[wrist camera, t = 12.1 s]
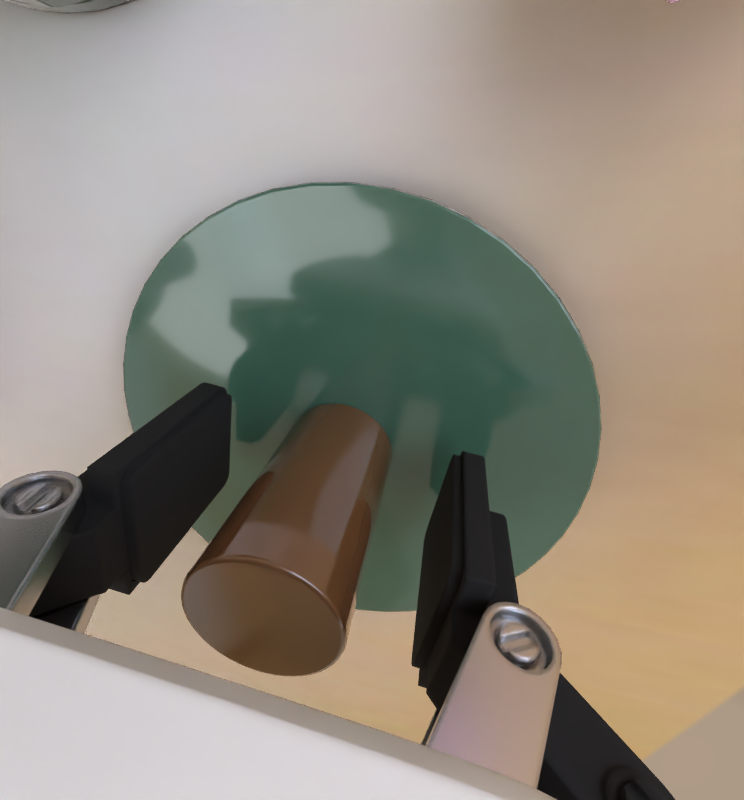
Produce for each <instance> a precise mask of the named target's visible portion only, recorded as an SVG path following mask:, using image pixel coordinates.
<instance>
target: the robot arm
mask: <svg viewBox="0 0 744 800" xmlns="http://www.w3.org/2000/svg"><path fill="white" fill-rule="evenodd" d="M231 413H232V397H231V395H230V394H227V391H226V389H225V388H224V387H221V386H217V385H213V384H210V383H206V382H203V383H201V384H199V385H198V386H197V387H195V388H194V389H193V390H191V391H190V392H189V393H187V394H186V395H185V396H183V397H182V398H180V399H179V400H178V401H176V402H175V403H174V404H172V405H171V406H170V407H168V408H167V409H166V410H164V411H163V412H162V413H160V414H159V415H157V416H156V417H155V418H153V419H152V420H151V421H149V422H148V423H147V424H145V425H144V426H143V427H141V428H140V429H138V430H137V431H136V432H134V433H133V434H132V435H130V436H129V437H128V438H126V439H125V440H124V441H122V442H121V443H119V444H118V445H117V446H115V447H114V448H113V449H111V450H110V451H109V452H107V453H106V454H105V455H103V456H102V457H100V458H99V459H98V460H96V461H95V462H94V463H92V464H91V465H90V466H88V467H87V469H88V470H86V471H85V472H84V473H82V474H81V475H80V476H78V477H76V476H75V475H73V474H70V473H68V472H63V471H41V472H36V473H31V474H27V475H25V476H22V477H19V478H16V479H14V480H12V481H11V482H9V483H7V484H5V485H3V486H2V487H1V488H0V800H675V799H674V798H673V796H672V795H671V794H670V793H669V791H668V790H667V789H666V787H665V786H664V785H663V784H662V783H661V782H660V781H659V779H658V778H657V777H656V776H655V775H654V774H653V773H652V772H651V771H650V770H649V769H648V767H647V766H646V765H645V764H644V763H643V762H642V761H641V760H640V759H639V758H638V757H637V756H636V754H635V753H634V752H633V751H632V750H631V749H630V748H629V747H628V746H627V745H626V744H625V743H624V741H623V740H622V739H621V738H620V737H619V736H618V735H617V734H616V733H615V732H614V731H613V730H612V728H611V727H610V726H609V725H608V724H607V723H606V722H605V721H604V720H603V719H602V718H601V716H600V715H599V714H598V713H597V712H596V711H595V710H594V709H593V708H592V707H591V706H590V705H589V703H588V702H587V701H586V700H585V699H584V698H583V697H582V696H581V695H580V694H579V693H578V692H577V690H576V689H575V688H574V687H573V686H572V685H571V684H570V683H569V682H568V681H567V680H566V679H565V677H564V676H563V675H562V674H561V673H560V669H561V664H562V652H561V649H560V646H559V643H558V640H557V638H556V636H555V635H554V633H553V631H552V630H551V628H550V627H549V626H548V625H547V624H546V623H545V622H544V620H543V619H542V618H541V617H539V616H538V615H537V614H535V613H534V612H533V611H531V610H530V609H528V608H526V607H524V606H522V605H519V602H518V596H517V589H516V582H515V575H514V568H513V561H512V554H511V547H510V540H509V533H508V526H507V520H506V517H505V516H504V515H503V514H500V513H496V512H492V511H490V510H489V499H488V488H487V478H486V467H485V458H484V457H483V456H480V455H476V454H472V453H469V452H465V451H462V452H461V454H460V456H458V455H455V454H453V456H452V458H451V460H450V463H449V466H448V469H447V472H446V475H445V478H444V481H443V483H442V486H441V489H440V492H439V495H438V498H437V501H436V504H435V507H434V509H433V512H432V515H431V518H430V521H429V524H428V527H427V530H426V533H425V538H424V545H423V554H422V564H421V574H420V584H419V593H418V603H417V613H416V623H415V632H414V642H413V652H412V666H414V667H417V668H420V670H419V681H418V686H422V687H425V688H427V691H426V693H427V695H428V696H429V698H430V699H431V701H432V702H433V704H434V705H435V707H436V710H435V712H434V714H433V717H432V719H431V721H430V723H429V726H428V728H427V730H426V733H425V735H424V737H423V739H422V742H421V744H418V743H415V742H412V741H410V740H407V739H404V738H401V737H398V736H395V735H393V734H389V733H386V732H383V731H380V730H377V729H374V728H371V727H368V726H365V725H362V724H359V723H356V722H353V721H350V720H347V719H344V718H341V717H338V716H335V715H332V714H329V713H326V712H323V711H320V710H317V709H314V708H311V707H308V706H305V705H302V704H299V703H296V702H293V701H290V700H287V699H283V698H280V697H277V696H274V695H271V694H268V693H265V692H262V691H259V690H256V689H253V688H250V687H247V686H244V685H241V684H238V683H235V682H232V681H228V680H225V679H222V678H219V677H216V676H213V675H210V674H207V673H204V672H201V671H198V670H195V669H191V668H188V667H185V666H182V665H179V664H176V663H173V662H170V661H167V660H164V659H161V658H157V657H154V656H151V655H148V654H145V653H142V652H139V651H136V650H133V649H130V648H127V647H123V646H120V645H117V644H114V643H111V642H108V641H105V640H102V639H98V638H95V637H92V636H89V635H86V634H84V632H85V630H86V628H87V625H88V623H89V621H90V618H91V616H92V613H93V611H94V609H95V606H96V604H97V602H98V599H99V596H100V594H102V593H105V592H106V591H107V590H108V589H112V590H115V591H118V592H121V593H125V594H128V595H130V594H131V592H132V591H133V590H134V589H135V587H136V586H137V585H138V584H139V583H140V582H143V583H144V582H146V581H148V580H149V579H150V578H151V577H152V575H153V574H154V573H155V572H156V570H157V569H158V568H159V567H160V565H161V564H162V563H163V562H164V560H165V559H166V558H167V557H168V556H169V554H170V553H171V552H172V551H173V549H174V548H175V547H176V546H177V544H178V543H179V542H180V541H181V539H182V538H183V537H184V536H185V534H186V533H187V532H188V531H189V529H190V528H191V527H192V526H193V524H194V523H195V522H196V521H197V519H198V518H199V517H200V516H201V514H202V513H203V512H204V511H205V509H206V508H207V507H208V506H209V504H210V503H211V502H212V501H213V499H214V498H215V497H216V496H217V494H218V493H219V492H220V491H221V489H222V488H223V487H224V486H225V484H226V482H227V480H228V477H229V468H230V441H231Z"/></svg>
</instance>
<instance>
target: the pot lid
mask: <svg viewBox="0 0 744 800" xmlns="http://www.w3.org/2000/svg"><path fill="white" fill-rule="evenodd" d="M123 367H124V391H125V397H126V403H127V409H128V415H129V418H130V422H131V425H132V428H133V432H136V431H137V430H138V429H140V428H141V427H143V426H144V425H145V424H147V423H148V422H149V421H151V420H152V419H153V418H155V417H156V416H157V415H159V414H160V413H162V412H163V411H164V410H166V409H167V408H168V407H170V406H171V405H172V404H174V403H175V402H176V401H178V400H179V399H180V398H182V397H183V396H185V395H186V394H187V393H189V392H190V391H191V390H193V389H194V388H195V387H197V386H198V385H199V384H201V383H203V382H206V383H210V384H213V385H217V386H221V387H224V388H225V389H226V391H227V394H230V395H231V397H232V413H231V441H230V468H229V477H228V480H227V482H226V484H225V486H224V487H223V488H222V489H221V491H220V492H219V493H218V494H217V496H216V497H215V498H214V499H213V501H212V502H211V503H210V504H209V506H208V507H207V508H206V509H205V511H204V512H203V513H202V514H201V516H200V517H199V518H198V519H197V521H196V522H195V523H194V524H193V526H192V528H194V529H195V530H196V531H197V532H198V533H199V534H200V535H201V536H202V537H203V538H204V539H205V540H206V541H207V542H208V543H209V544H208V546H207V547H206V548H205V550H204V551H203V553H202V554H201V555H200V557H199V558H198V559H197V561H196V562H195V564H194V565H193V566H192V568H191V569H190V571H189V572H188V573H187V575H186V577H185V579H184V582H183V586H182V591H181V600H182V606H183V609H184V612H185V614H186V617H187V619H188V620H189V622H190V624H191V625H192V627H193V628H194V629H195V631H196V632H197V633H198V634H199V635H200V636H201V637H202V638H203V639H204V640H205V641H206V642H207V643H208V644H209V645H210V646H211V647H213V648H214V649H215V650H217V651H218V652H220V653H221V654H223V655H224V656H226V657H227V658H229V659H231V660H233V661H235V662H237V663H239V664H241V665H243V666H246V667H248V668H251V669H254V670H257V671H260V672H264V673H268V674H273V675H279V676H306V675H311V674H315V673H318V672H321V671H323V670H325V669H327V668H328V667H330V666H331V665H333V664H334V663H335V662H336V661H337V660H338V659H339V657H340V656H341V654H342V653H343V651H344V649H345V646H346V643H347V639H348V635H349V631H350V627H351V623H352V619H353V615H354V611H355V609H358V610H369V611H382V612H397V611H416V610H417V603H418V593H419V584H420V574H421V564H422V554H423V545H424V538H425V533H426V530H427V527H428V524H429V521H430V518H431V515H432V512H433V509H434V507H435V504H436V501H437V498H438V495H439V492H440V489H441V486H442V483H443V481H444V478H445V475H446V472H447V469H448V466H449V463H450V460H451V458H452V456H453V454H455V455H458V456H460V454H461V452H462V451H465V452H469V453H472V454H476V455H480V456H483V457H484V458H485V467H486V478H487V488H488V499H489V510H490V511H492V512H496V513H500V514H503V515H504V516H505V517H506V520H507V526H508V533H509V540H510V547H511V554H512V561H513V568H514V575H515V578H516V577H517V576H519V575H520V574H522V573H523V572H525V571H526V570H528V569H529V568H530V567H531V566H532V565H534V564H535V563H536V562H537V561H538V560H540V559H541V558H542V557H543V556H545V555H546V554H547V552H548V551H549V550H550V549H551V548H552V547H553V546H554V545H555V544H556V543H557V542H558V540H559V539H560V538H561V537H562V536H563V535H564V533H565V532H566V530H567V529H568V527H569V526H570V524H571V523H572V521H573V520H574V518H575V517H576V515H577V514H578V512H579V510H580V508H581V506H582V504H583V502H584V499H585V497H586V495H587V493H588V491H589V489H590V486H591V482H592V479H593V475H594V472H595V468H596V464H597V461H598V455H599V446H600V437H601V411H600V396H599V391H598V387H597V382H596V378H595V373H594V369H593V364H592V362H591V359H590V357H589V354H588V352H587V349H586V347H585V344H584V342H583V339H582V337H581V334H580V332H579V330H578V328H577V326H576V325H575V323H574V321H573V320H572V318H571V316H570V314H569V313H568V311H567V309H566V308H565V306H564V304H563V303H562V301H561V299H560V298H559V297H558V295H557V294H556V293H555V292H554V291H553V289H552V288H551V287H550V286H549V285H548V283H547V282H546V281H545V280H544V279H543V277H542V276H541V275H540V274H539V273H538V271H537V270H536V269H535V268H534V267H533V266H532V265H531V264H530V263H529V262H528V261H527V260H526V259H525V258H523V257H522V256H521V255H520V254H519V253H518V252H517V251H516V250H514V249H513V248H512V247H511V246H510V245H509V244H508V243H507V242H506V241H504V240H503V239H502V238H501V237H499V236H498V235H496V234H495V233H493V232H491V231H490V230H488V229H487V228H485V227H484V226H482V225H481V224H479V223H478V222H476V221H475V220H473V219H472V218H470V217H469V216H466V215H464V214H462V213H460V212H458V211H456V210H454V209H451V208H449V207H447V206H445V205H443V204H441V203H438V202H436V201H434V200H432V199H429V198H425V197H422V196H418V195H415V194H412V193H408V192H405V191H402V190H398V189H395V188H389V187H382V186H375V185H368V184H361V183H354V182H316V183H305V184H299V185H293V186H287V187H281V188H275V189H271V190H268V191H265V192H262V193H259V194H256V195H253V196H250V197H247V198H244V199H241V200H238V201H236V202H234V203H233V204H231V205H229V206H227V207H225V208H223V209H221V210H219V211H217V212H216V213H214V214H212V215H210V216H208V217H207V218H205V219H204V220H203V221H202V222H200V223H199V224H198V225H196V226H195V227H194V228H192V229H191V230H190V231H189V232H187V233H186V234H185V235H183V236H182V237H181V238H180V239H179V240H178V242H177V243H176V244H175V245H174V246H173V247H172V248H171V249H170V250H169V251H168V252H167V253H166V254H165V256H164V257H163V258H162V259H161V260H160V262H159V263H158V265H157V266H156V268H155V269H154V271H153V273H152V274H151V276H150V277H149V279H148V280H147V282H146V283H145V285H144V287H143V289H142V292H141V294H140V296H139V298H138V301H137V303H136V305H135V308H134V310H133V313H132V317H131V321H130V325H129V328H128V332H127V336H126V344H125V353H124V363H123Z"/></svg>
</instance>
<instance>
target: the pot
mask: <svg viewBox="0 0 744 800" xmlns="http://www.w3.org/2000/svg"><path fill="white" fill-rule="evenodd" d="M3 1H7V2H10V3H14V4H17V5H21V6H24V7H28V8H31V9H34V10H43V11H53V12H62V13H73V12H85V11H96V10H102V9H105V8H108V7H112V6H115V5H118V4H122V3H125V2H128V1H131V0H3Z"/></svg>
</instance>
